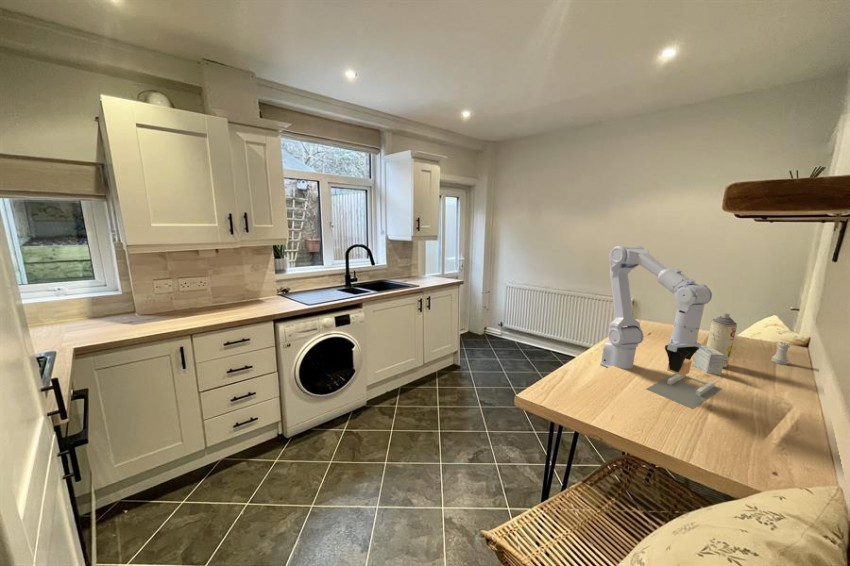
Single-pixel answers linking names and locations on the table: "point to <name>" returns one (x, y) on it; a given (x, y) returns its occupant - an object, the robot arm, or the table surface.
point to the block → (683, 368)
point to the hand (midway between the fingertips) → (677, 368)
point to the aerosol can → (722, 336)
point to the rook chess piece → (781, 354)
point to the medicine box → (709, 360)
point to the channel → (684, 390)
